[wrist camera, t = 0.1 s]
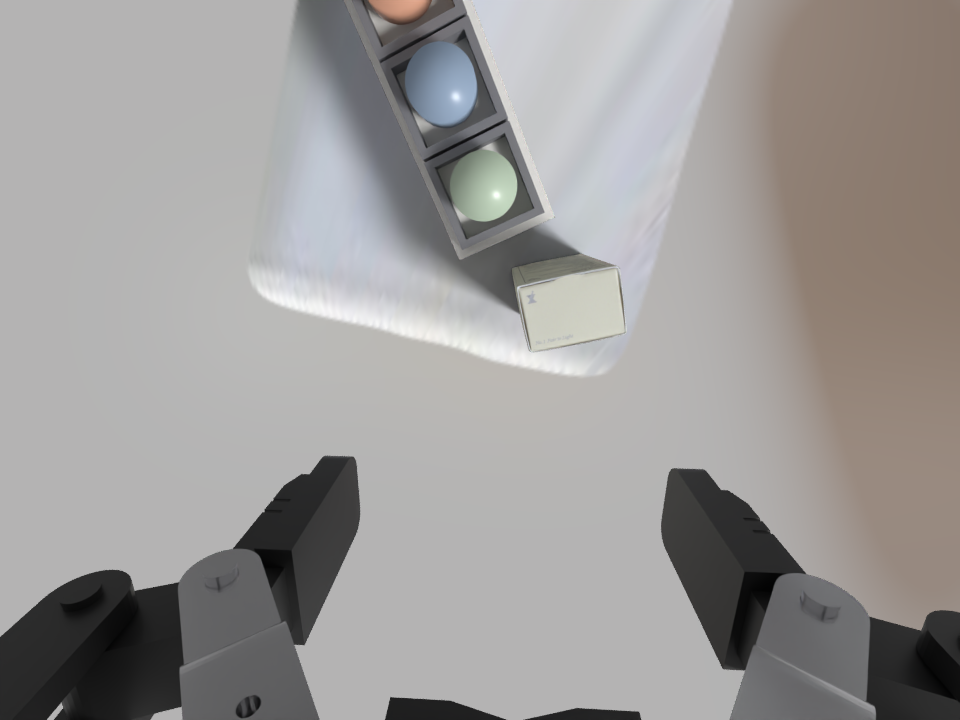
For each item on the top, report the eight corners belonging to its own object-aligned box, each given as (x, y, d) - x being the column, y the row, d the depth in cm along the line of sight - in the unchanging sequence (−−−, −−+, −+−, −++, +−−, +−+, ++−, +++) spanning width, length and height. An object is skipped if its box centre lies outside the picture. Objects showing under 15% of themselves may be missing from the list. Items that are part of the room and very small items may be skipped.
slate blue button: (400, 73, 28) (392, 62, 26) (461, 40, 27) (457, 27, 25) (429, 139, 29) (423, 134, 27) (488, 109, 28) (487, 102, 26)
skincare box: (519, 316, 40) (525, 357, 29) (510, 264, 39) (512, 286, 27) (593, 302, 39) (629, 338, 28) (585, 249, 38) (620, 264, 27)
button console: (360, 9, 34) (315, -54, 26) (446, -40, 33) (427, -122, 25) (467, 252, 39) (457, 262, 31) (546, 216, 38) (556, 217, 30)
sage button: (443, 171, 29) (438, 168, 27) (501, 142, 29) (501, 137, 27) (469, 231, 30) (466, 232, 28) (526, 205, 30) (527, 204, 28)
